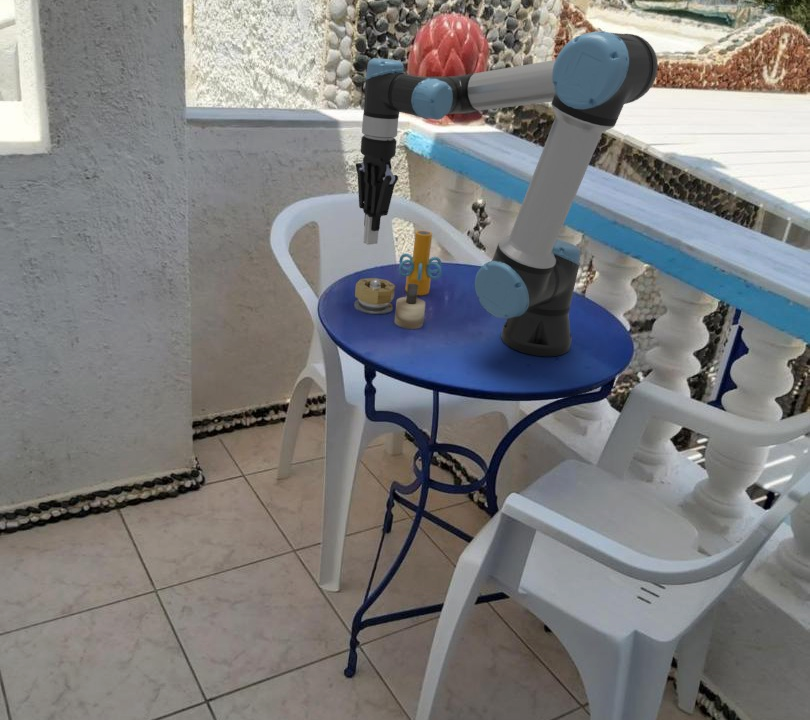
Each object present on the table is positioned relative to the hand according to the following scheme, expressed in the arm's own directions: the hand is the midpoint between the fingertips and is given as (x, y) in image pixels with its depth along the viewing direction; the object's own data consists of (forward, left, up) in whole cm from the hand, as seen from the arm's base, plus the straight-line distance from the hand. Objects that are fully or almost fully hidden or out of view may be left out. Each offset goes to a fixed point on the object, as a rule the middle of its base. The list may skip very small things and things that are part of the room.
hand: (370, 242), depth 174 cm
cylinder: (+1, -16, -15) cm, 22 cm away
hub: (-3, 0, -14) cm, 15 cm away
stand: (-14, -2, -14) cm, 20 cm away
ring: (-3, 0, -12) cm, 12 cm away
